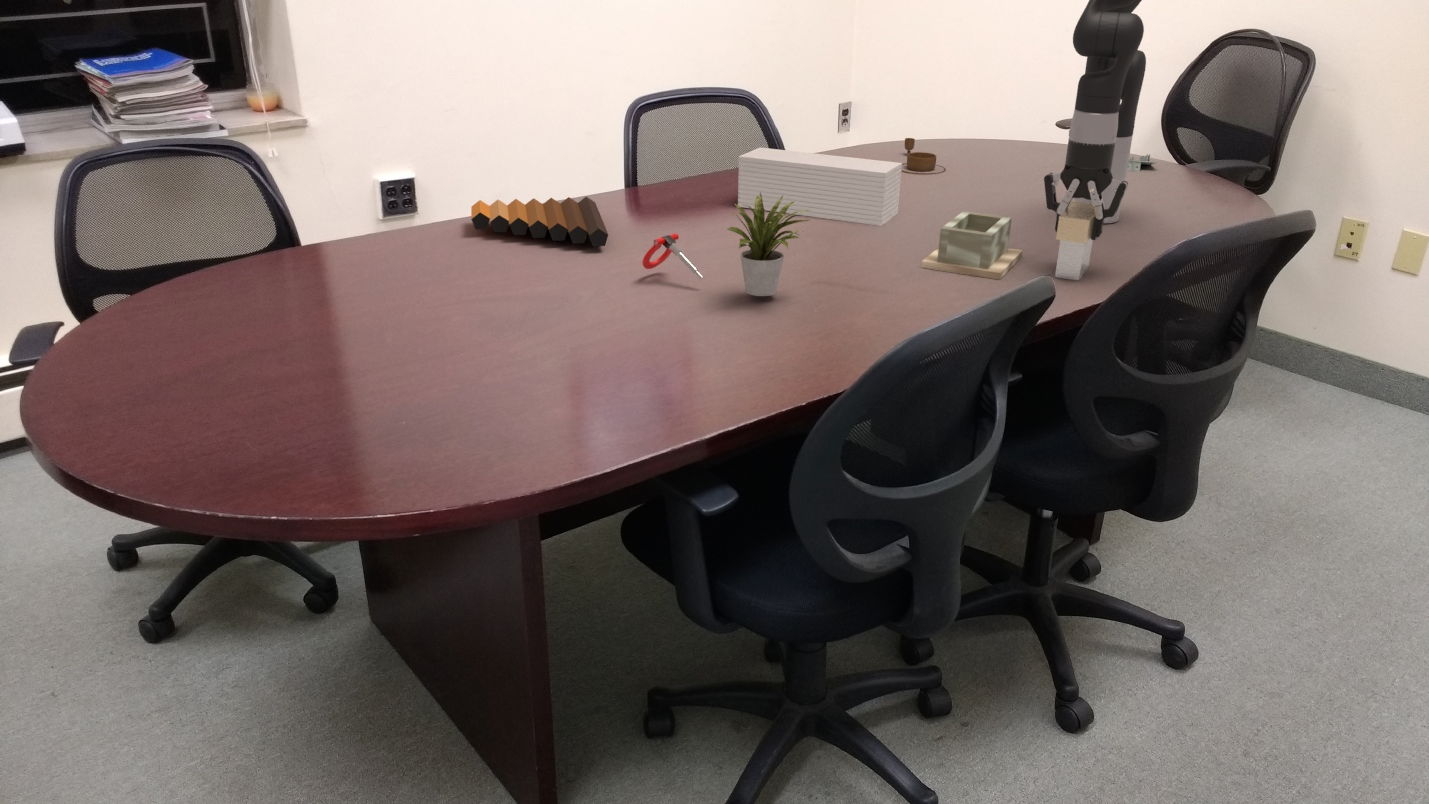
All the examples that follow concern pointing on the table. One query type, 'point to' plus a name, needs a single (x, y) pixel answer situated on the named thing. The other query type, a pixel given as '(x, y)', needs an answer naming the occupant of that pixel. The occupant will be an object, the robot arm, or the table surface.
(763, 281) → the house plant
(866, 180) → the stack of papers
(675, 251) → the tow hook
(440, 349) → the table surface
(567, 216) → the pan flute
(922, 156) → the place setting
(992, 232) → the grey open box
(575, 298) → the table surface
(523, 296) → the table surface
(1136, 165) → the metal bracket
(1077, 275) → the two-tone square post
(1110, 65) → the robot arm
